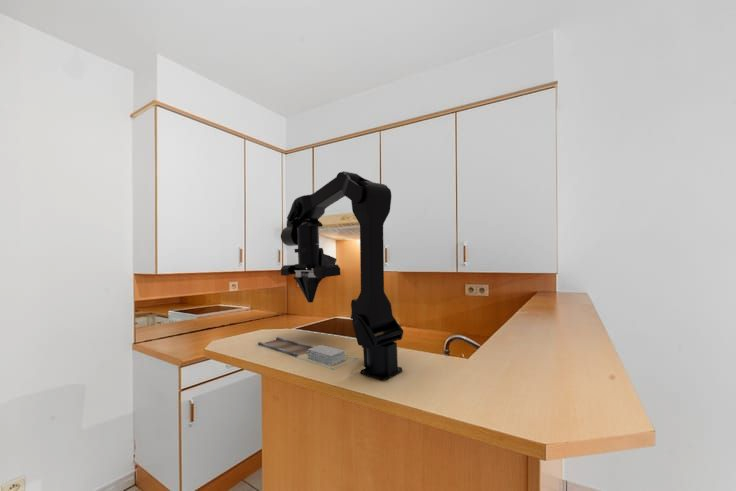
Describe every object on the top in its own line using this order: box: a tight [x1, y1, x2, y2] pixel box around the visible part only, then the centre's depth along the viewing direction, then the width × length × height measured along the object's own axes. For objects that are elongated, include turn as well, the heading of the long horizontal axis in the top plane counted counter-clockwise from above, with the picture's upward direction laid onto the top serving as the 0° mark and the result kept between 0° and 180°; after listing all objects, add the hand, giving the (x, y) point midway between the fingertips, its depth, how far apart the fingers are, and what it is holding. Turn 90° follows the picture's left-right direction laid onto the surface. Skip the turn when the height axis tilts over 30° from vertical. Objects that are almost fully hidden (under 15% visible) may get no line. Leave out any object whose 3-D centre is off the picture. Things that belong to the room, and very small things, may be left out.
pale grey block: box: [307, 344, 332, 363], centre depth 71 cm, size 4×4×3 cm
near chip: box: [318, 347, 346, 367], centre depth 68 cm, size 4×4×3 cm
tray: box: [295, 354, 359, 370], centre depth 71 cm, size 13×8×1 cm, turn 50°
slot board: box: [257, 336, 315, 358], centre depth 80 cm, size 17×6×2 cm, turn 50°
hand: (310, 302), depth 83 cm, fingers closed
